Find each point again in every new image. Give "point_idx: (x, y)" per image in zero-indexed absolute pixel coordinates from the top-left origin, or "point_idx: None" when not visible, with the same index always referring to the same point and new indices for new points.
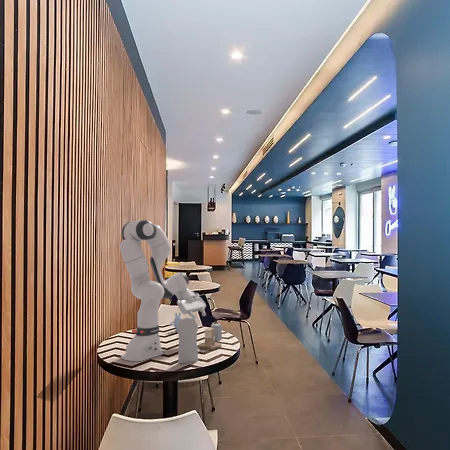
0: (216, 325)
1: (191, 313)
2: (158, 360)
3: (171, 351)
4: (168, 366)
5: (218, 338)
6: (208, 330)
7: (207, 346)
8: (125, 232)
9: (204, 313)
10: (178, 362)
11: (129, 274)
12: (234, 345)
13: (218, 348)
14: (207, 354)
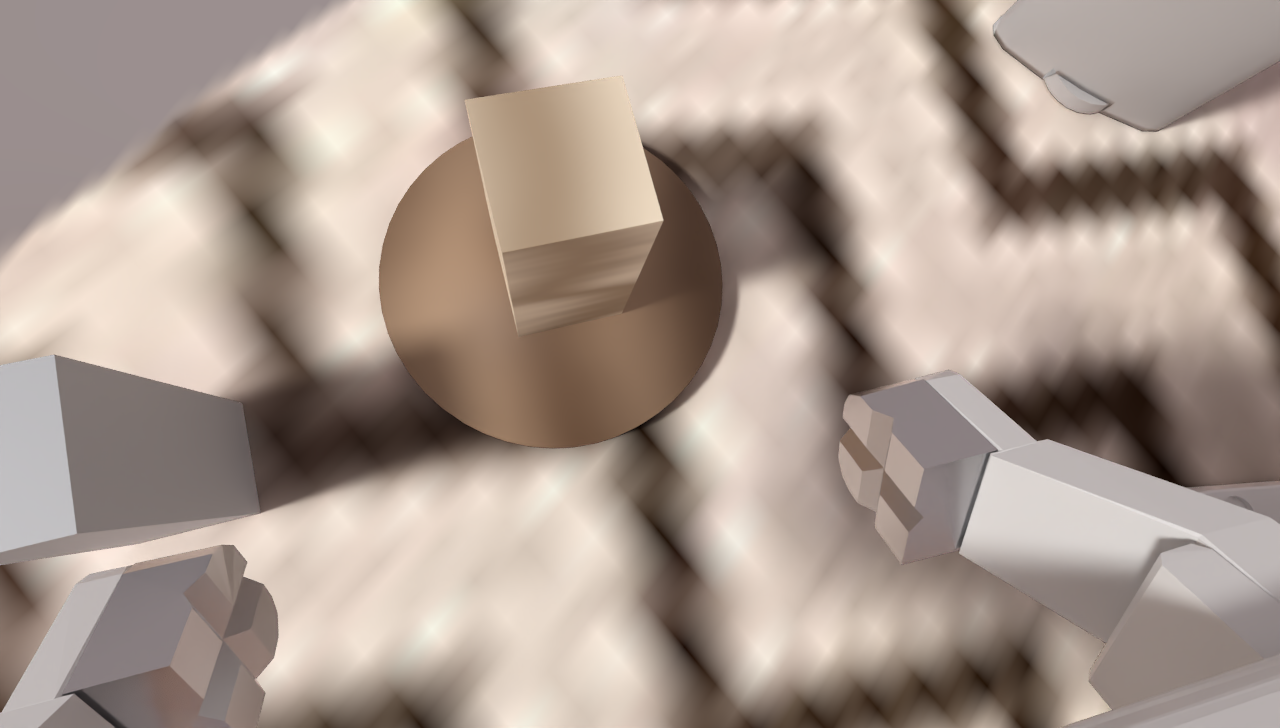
0: (44, 412)
1: (1174, 503)
2: (1275, 354)
3: None
4: (1268, 135)
5: (213, 399)
6: (635, 132)
7: None
8: None
9: (163, 593)
10: (1171, 122)
11: None
12: (285, 65)
13: None
14: (792, 91)
